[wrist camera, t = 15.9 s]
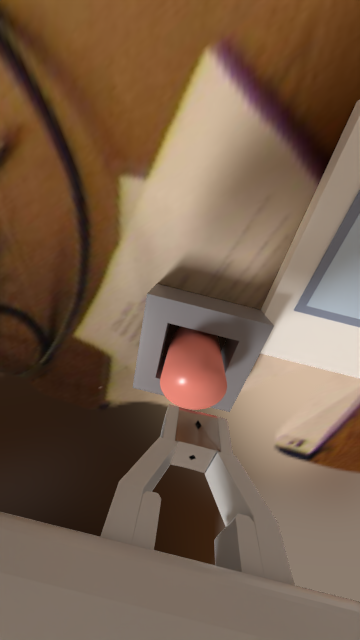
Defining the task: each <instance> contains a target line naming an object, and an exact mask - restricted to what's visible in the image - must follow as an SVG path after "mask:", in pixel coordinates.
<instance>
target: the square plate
mask: <svg viewBox="0 0 360 640" xmlns="http://www.w3.org/2000/svg"><path fill="white" fill-rule="evenodd" d="M261 311H262V312H263V313H264V314H265V316H266V317H267V318H268V319H269V320H270V321H271V323H272V324H273V325H274V327H273V329H272V331H271V333H270V335H269V337H268V339H267V341H266V343H265V345H264V347H263V349H262V350H261V352H260V354H264V355H268V356H272V357H276V358H280V359H284V360H288V361H292V362H296V363H300V364H304V365H308V366H312V367H316V368H320V369H324V370H328V371H332V372H336V373H340V374H344V375H347V376H351V377H355V378H359V379H360V100H358V101H357V102H356V104H355V107H354V109H353V111H352V113H351V115H350V117H349V120H348V122H347V124H346V126H345V128H344V130H343V133H342V135H341V137H340V139H339V141H338V143H337V146H336V148H335V150H334V152H333V154H332V156H331V159H330V161H329V163H328V165H327V167H326V169H325V172H324V174H323V176H322V178H321V180H320V182H319V185H318V187H317V189H316V191H315V193H314V195H313V198H312V200H311V202H310V204H309V206H308V208H307V211H306V213H305V215H304V217H303V219H302V222H301V224H300V226H299V228H298V230H297V232H296V235H295V237H294V239H293V241H292V243H291V245H290V248H289V250H288V252H287V254H286V256H285V258H284V261H283V263H282V265H281V267H280V269H279V271H278V274H277V276H276V278H275V280H274V282H273V284H272V287H271V289H270V291H269V293H268V295H267V297H266V300H265V302H264V304H263V306H262V308H261Z"/></svg>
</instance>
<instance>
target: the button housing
mask: <svg viewBox="0 0 360 640" xmlns="http://www.w3.org/2000/svg"><path fill="white" fill-rule="evenodd" d="M170 324H174V325H178V326H182V327H186V328H190V329H194V330H198V331H202V332H205V333H209V334H213V335H217V336H221V337H225V338H226V341H225V343H224V346H223V348H222V351H221V354H222V360H223V365H224V370H225V375H226V381H227V390H226V393H225V395H224V397H223V398H222V400H221V401H219V402H218V403H217V404H215V405H213V406H211V407H212V408H216V409H220V410H224V411H228V412H230V410H231V408H232V406H233V404H234V402H235V401H236V399H237V397H238V395H239V393H240V391H241V389H242V387H243V385H244V383H245V381H246V379H247V377H248V376H249V374H250V372H251V370H252V368H253V366H254V364H255V362H256V360H257V358H258V356H259V354H260V352H261V350H262V349H263V347H264V345H265V343H266V341H267V339H268V337H269V335H270V333H271V331H272V329H273V327H274V325H273V324H272V323H271V321H270V320H269V319H268V318H267V317H266V316H265V314H264V313H263V312H262V311H261V310H259V309H255V308H251V307H247V306H243V305H239V304H235V303H231V302H227V301H223V300H219V299H215V298H211V297H207V296H203V295H199V294H195V293H191V292H187V291H184V290H180V289H176V288H172V287H168V286H164V285H160V284H156V285H155V286H154V287H153V288H152V289H151V290H150V291H149V292H148V293H147V298H146V305H145V311H144V318H143V324H142V331H141V337H140V344H139V350H138V357H137V363H136V370H135V376H134V383H133V388H136V389H140V390H144V391H148V392H152V393H156V394H160V395H164V394H163V392H162V390H161V387H160V378H161V374H162V371H163V367H164V363H165V360H166V358H165V357H162V355H163V351H164V346H165V342H166V338H167V333H168V329H169V325H170ZM164 396H165V395H164Z"/></svg>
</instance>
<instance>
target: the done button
mask: <svg viewBox="0 0 360 640" xmlns="http://www.w3.org/2000/svg"><path fill="white" fill-rule="evenodd" d="M160 387H161V390H162V392H163V394H164V395H165V397H166V398H167V399H168V400H169V401H171V402H172V403H174V404H175V405H177V406H180V407H183V408H186V409H194V410H198V409H205V408H209V407H211V406H213V405H215V404H217V403H218V402H219V401H221V400H222V398H223V397H224V395H225V393H226V390H227V381H226V375H225V370H224V365H223V360H222V354H221V349H220V344H219V339H218V337H217V335H213V334H209V333H205V332H202V331H198V330H194V329H190V328H186V327H182V326H181V327H180V328H178V329H177V330H176V331H175V333H174V334H173V336H172V339H171V342H170V346H169V349H168V353H167V356H166V360H165V363H164V367H163V371H162V374H161V378H160Z"/></svg>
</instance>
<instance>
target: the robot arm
mask: <svg viewBox="0 0 360 640" xmlns="http://www.w3.org/2000/svg"><path fill="white" fill-rule="evenodd" d="M170 464H171V465H176V466H181V467H185V468H189V469H193V470H197V471H200V472H203V473H205V476H206V478H207V481H208V483H209V486H210V488H211V490H212V493H213V496H214V498H215V501H216V503H217V506H218V508H219V511H220V513H221V516H222V518H223V521H224V523H225V526H226V527H225V529H224V530H223V531H222V532H221V533H220V534H219V535H218V536H217V538H216V539H215V541H214V542H215V565H211V564H207V563H203V562H198V561H195V560H191V559H187V558H182V557H179V556H175V555H171V554H167V553H163V552H158V551H155V550H154V544H155V537H156V530H157V523H158V516H159V509H160V503H161V498H160V496H159V494H158V493H154V492H152V490H153V489H154V487H155V486H156V484H157V483H158V481H159V480H160V478H161V477H162V475H163V474H164V473H165V471H166V470H167V468H168V467H169V465H170ZM0 640H360V602H359V601H355V600H351V599H347V598H343V597H339V596H335V595H331V594H327V593H323V592H319V591H315V590H311V589H307V588H303V587H299V586H295V585H294V581H293V577H292V573H291V570H290V566H289V562H288V558H287V555H286V551H285V547H284V543H283V540H282V536H281V532H280V528H279V525H278V522H277V520H276V519H275V517H274V515H273V514H272V512H271V511H270V509H269V508H268V506H267V504H266V503H265V501H264V500H263V498H262V497H261V495H260V493H259V492H258V490H257V489H256V487H255V485H254V484H253V482H252V481H251V479H250V477H249V476H248V474H247V473H246V471H245V470H244V468H243V467H242V465H241V464H240V462H239V460H238V459H237V457H236V456H233V452H232V446H231V439H230V432H229V426H228V421H227V419H225V418H221V417H216V416H214V415H210V414H205V413H201V412H195V411H192V410H188V409H185V408H181V407H178V406H174V405H170V404H169V405H168V409H167V412H166V415H165V419H164V423H163V427H162V432H161V436H160V437H159V438H158V440H157V441H156V442H155V443H154V444H153V445H152V446H151V447H150V448H149V449H148V451H147V452H146V453H145V454H144V455H143V456H142V457H141V458H140V459H139V461H138V462H137V463H136V464H135V465H134V466H133V467H132V468H131V469H130V470H129V472H128V473H127V474H126V475H125V476H124V477H123V478H122V479H121V480H120V481H119V483H118V486H117V490H116V492H115V495H114V498H113V501H112V504H111V507H110V510H109V513H108V516H107V519H106V522H105V525H104V528H103V531H102V534H101V537H98V536H95V535H90V534H86V533H82V532H78V531H74V530H71V529H66V528H62V527H58V526H54V525H50V524H46V523H42V522H38V521H34V520H30V519H26V518H22V517H18V516H14V515H10V514H6V513H2V512H0Z"/></svg>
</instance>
